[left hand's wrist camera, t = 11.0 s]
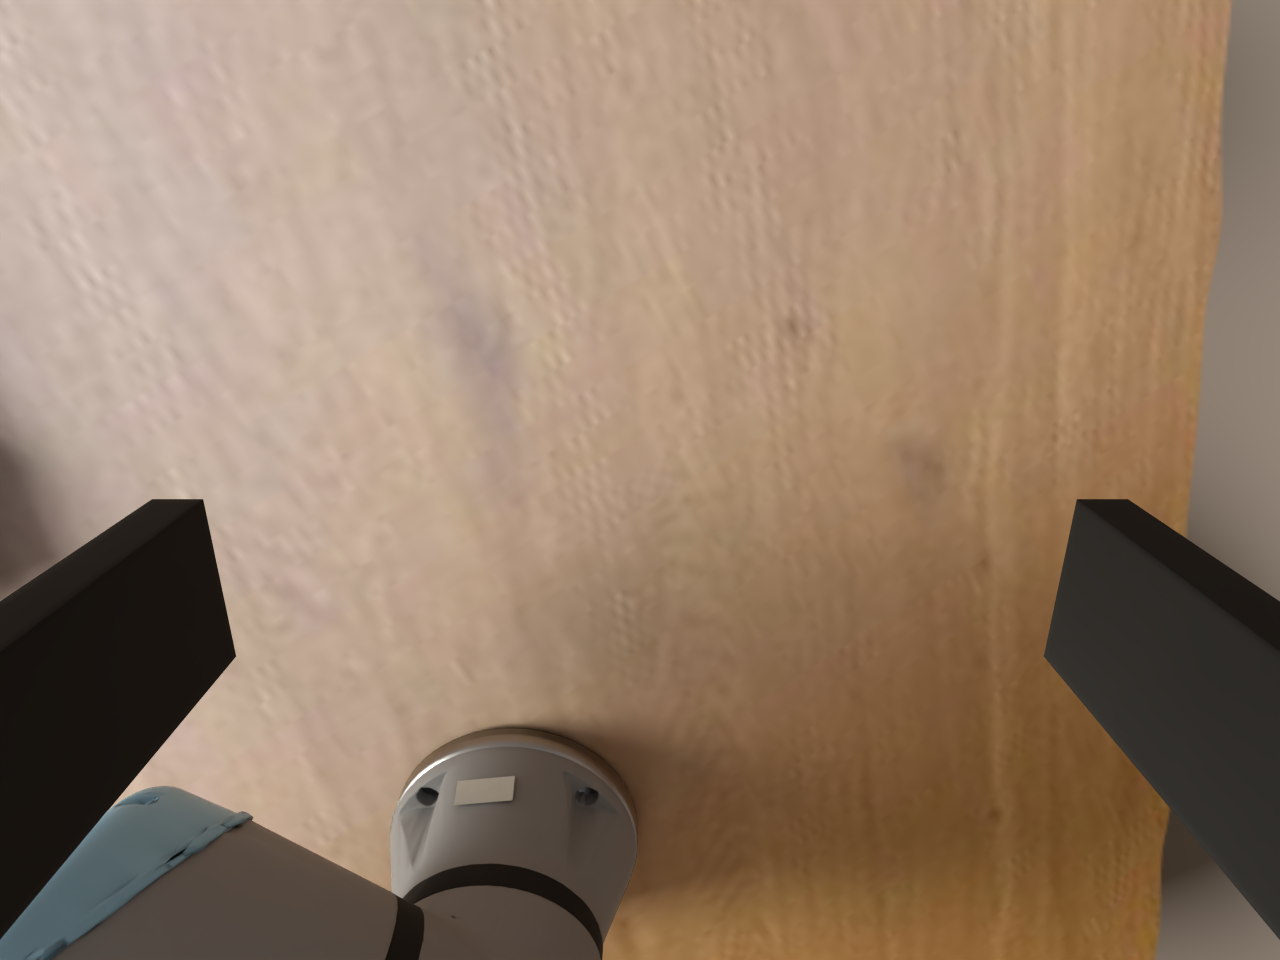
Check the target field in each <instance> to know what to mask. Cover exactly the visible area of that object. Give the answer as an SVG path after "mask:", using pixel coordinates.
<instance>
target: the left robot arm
mask: <svg viewBox="0 0 1280 960" xmlns="http://www.w3.org/2000/svg"><path fill="white" fill-rule="evenodd" d="M235 657H236V654H235V649H234V644H233V639H232V635H231V630H230V625H229V620H228V616H227V611H226V606H225V601H224V597H223V592H222V587H221V582H220V578H219V573H218V568H217V563H216V559H215V554H214V549H213V544H212V540H211V535H210V530H209V525H208V521H207V516H206V511H205V506H204V502H203V499H152V500H150V501H149V502H147V503H146V504H144V505H143V506H141V507H140V508H139V509H137V510H136V511H134V512H133V513H131V514H130V515H128V516H127V517H125V518H124V519H122V520H121V521H119V522H118V523H116V524H115V525H113V526H112V527H110V528H109V529H107V530H106V531H104V532H103V533H101V534H100V535H98V536H97V537H95V538H94V539H92V540H91V541H89V542H88V543H87V544H85V545H84V546H82V547H81V548H79V549H78V550H76V551H75V552H73V553H72V554H70V555H69V556H67V557H66V558H64V559H63V560H61V561H60V562H58V563H57V564H55V565H54V566H52V567H51V568H49V569H48V570H46V571H45V572H43V573H42V574H40V575H39V576H38V577H36V578H35V579H33V580H32V581H30V582H29V583H27V584H26V585H24V586H23V587H21V588H20V589H18V590H17V591H15V592H14V593H12V594H11V595H9V596H8V597H6V598H5V599H3V600H2V601H0V960H602V953H603V943H604V940H605V938H606V935H607V933H608V931H609V928H610V926H611V923H612V921H613V919H614V916H615V914H616V912H617V909H618V907H619V904H620V902H621V900H622V897H623V895H624V892H625V890H626V888H627V885H628V883H629V880H630V878H631V875H632V871H633V868H634V865H635V861H636V855H637V817H636V812H635V807H634V804H633V801H632V798H631V796H630V794H629V792H628V790H627V788H626V786H625V785H624V783H623V781H622V780H621V779H620V777H619V776H618V775H617V773H616V772H615V771H614V770H613V769H612V768H611V767H610V766H609V765H608V764H607V763H606V762H605V761H603V760H602V759H601V758H600V757H598V756H597V755H596V754H594V753H593V752H592V751H590V750H588V749H587V748H585V747H583V746H581V745H579V744H577V743H575V742H573V741H571V740H568V739H566V738H563V737H561V736H558V735H554V734H551V733H547V732H542V731H537V730H530V729H518V728H504V729H492V730H485V731H480V732H476V733H472V734H469V735H465V736H462V737H460V738H457V739H455V740H453V741H451V742H449V743H447V744H445V745H443V746H441V747H440V748H438V749H437V750H435V751H434V752H432V753H431V754H430V755H429V756H427V757H426V758H425V759H424V760H423V761H422V762H421V763H420V764H419V765H418V766H417V767H416V769H415V770H414V771H413V772H412V774H411V775H410V777H409V778H408V780H407V782H406V784H405V786H404V788H403V790H402V793H401V796H400V798H399V801H398V804H397V806H396V809H395V812H394V815H393V818H392V824H391V835H390V856H391V885H392V892H390V891H388V890H386V889H384V888H382V887H380V886H378V885H376V884H374V883H372V882H370V881H368V880H366V879H365V878H363V877H361V876H359V875H357V874H355V873H353V872H351V871H349V870H347V869H345V868H343V867H341V866H339V865H337V864H335V863H333V862H331V861H329V860H327V859H325V858H323V857H321V856H319V855H317V854H315V853H313V852H312V851H310V850H308V849H306V848H304V847H302V846H300V845H298V844H296V843H294V842H292V841H290V840H288V839H286V838H284V837H282V836H280V835H278V834H276V833H274V832H272V831H270V830H268V829H266V828H264V827H263V826H261V825H259V824H257V823H255V822H253V821H252V819H253V817H252V816H251V815H250V814H248V813H246V812H239V813H235V812H233V811H231V810H228V809H226V808H224V807H221V806H219V805H217V804H214V803H212V802H210V801H207V800H205V799H203V798H201V797H198V796H196V795H194V794H191V793H189V792H187V791H184V790H182V789H179V788H176V787H169V786H158V787H152V788H148V789H145V790H142V791H139V792H136V793H134V794H132V795H130V796H128V797H127V798H125V799H123V800H122V801H120V802H119V803H117V804H116V805H114V806H113V807H112V808H111V809H109V808H110V807H111V806H112V805H113V804H114V802H115V801H116V800H117V799H118V798H119V796H120V795H121V794H122V793H123V792H124V790H125V789H126V788H127V787H128V786H129V784H130V783H131V782H132V781H133V780H134V778H135V777H136V776H137V775H138V774H139V772H140V771H141V770H142V769H143V768H144V766H145V765H146V764H147V763H148V762H149V760H150V759H151V758H152V757H153V756H154V754H155V753H156V752H157V751H158V750H159V748H160V747H161V746H162V745H163V744H164V742H165V741H166V740H167V739H168V738H169V736H170V735H171V734H172V733H173V732H174V730H175V729H176V728H177V727H178V726H179V724H180V723H181V722H182V721H183V720H184V718H185V717H186V716H187V715H188V713H189V712H190V711H191V710H192V709H193V707H194V706H195V705H196V704H197V703H198V701H199V700H200V699H201V698H202V697H203V695H204V694H205V693H206V692H207V691H208V689H209V688H210V687H211V686H212V685H213V683H214V682H215V681H216V680H217V679H218V677H219V676H220V675H221V674H222V673H223V671H224V670H225V669H226V668H227V667H228V665H229V664H230V663H231V662H232V661H233V659H234V658H235ZM1044 657H1045V658H1046V659H1047V661H1048V662H1049V663H1050V664H1051V665H1052V667H1053V668H1054V669H1055V670H1056V671H1057V673H1058V674H1059V675H1060V676H1061V677H1062V679H1063V680H1064V681H1065V682H1066V683H1067V685H1068V686H1069V687H1070V688H1071V689H1072V691H1073V692H1074V693H1075V694H1076V695H1077V697H1078V698H1079V699H1080V700H1081V701H1082V703H1083V704H1084V705H1085V706H1086V707H1087V709H1088V710H1089V711H1090V712H1091V713H1092V715H1093V716H1094V717H1095V718H1096V720H1097V721H1098V722H1099V723H1100V724H1101V726H1102V727H1103V728H1104V729H1105V730H1106V732H1107V733H1108V734H1109V735H1110V736H1111V738H1112V739H1113V740H1114V741H1115V742H1116V744H1117V745H1118V746H1119V747H1120V748H1121V750H1122V751H1123V752H1124V753H1125V754H1126V756H1127V757H1128V758H1129V759H1130V760H1131V762H1132V763H1133V764H1134V765H1135V766H1136V768H1137V769H1138V770H1139V771H1140V772H1141V774H1142V775H1143V776H1144V777H1145V778H1146V780H1147V781H1148V782H1149V783H1150V784H1151V786H1152V787H1153V788H1154V789H1155V790H1156V792H1157V793H1158V794H1159V795H1160V796H1161V798H1162V799H1163V800H1164V801H1165V802H1166V804H1167V805H1168V806H1169V807H1170V808H1171V810H1172V811H1173V812H1174V813H1175V814H1176V816H1177V817H1178V818H1179V819H1180V820H1181V822H1182V823H1183V824H1184V825H1185V826H1186V828H1187V829H1188V830H1189V831H1190V832H1191V834H1192V835H1193V836H1194V837H1195V838H1196V840H1197V841H1198V842H1199V843H1200V844H1201V846H1202V847H1203V848H1204V849H1205V850H1206V852H1207V853H1208V854H1209V855H1210V856H1211V858H1212V859H1213V860H1214V861H1215V862H1216V864H1217V865H1218V866H1219V867H1220V869H1221V870H1222V871H1223V872H1224V873H1225V875H1226V876H1227V877H1228V878H1229V879H1230V881H1231V882H1232V883H1233V884H1234V885H1235V886H1236V888H1237V889H1238V890H1239V891H1240V893H1241V894H1242V895H1243V896H1244V897H1245V899H1246V900H1247V901H1248V902H1249V903H1250V905H1251V906H1252V907H1253V908H1254V909H1255V911H1256V912H1257V913H1258V914H1259V915H1260V917H1261V918H1262V919H1263V920H1264V921H1265V923H1266V924H1267V925H1268V926H1269V927H1270V929H1271V930H1272V931H1273V932H1274V933H1275V935H1276V936H1277V937H1278V938H1279V939H1280V601H1278V600H1277V599H1275V598H1274V597H1272V596H1271V595H1269V594H1268V593H1266V592H1265V591H1263V590H1262V589H1260V588H1259V587H1257V586H1256V585H1254V584H1253V583H1251V582H1250V581H1248V580H1247V579H1245V578H1244V577H1242V576H1241V575H1239V574H1238V573H1237V572H1235V571H1234V570H1232V569H1231V568H1229V567H1228V566H1226V565H1225V564H1223V563H1222V562H1220V561H1219V560H1217V559H1216V558H1214V557H1213V556H1211V555H1210V554H1208V553H1207V552H1205V551H1204V550H1202V549H1201V548H1199V547H1198V546H1196V545H1195V544H1193V543H1192V542H1190V541H1189V540H1188V539H1186V538H1185V537H1183V536H1182V535H1180V534H1179V533H1177V532H1176V531H1174V530H1173V529H1171V528H1170V527H1168V526H1167V525H1165V524H1164V523H1162V522H1161V521H1159V520H1158V519H1156V518H1155V517H1153V516H1152V515H1150V514H1149V513H1147V512H1146V511H1144V510H1143V509H1141V508H1140V507H1139V506H1137V505H1136V504H1134V503H1133V502H1131V501H1130V500H1128V499H1077V501H1076V506H1075V511H1074V516H1073V521H1072V525H1071V530H1070V535H1069V540H1068V544H1067V549H1066V554H1065V559H1064V563H1063V568H1062V573H1061V578H1060V582H1059V587H1058V592H1057V597H1056V601H1055V606H1054V611H1053V616H1052V620H1051V625H1050V630H1049V635H1048V639H1047V644H1046V649H1045V654H1044Z"/></svg>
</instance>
